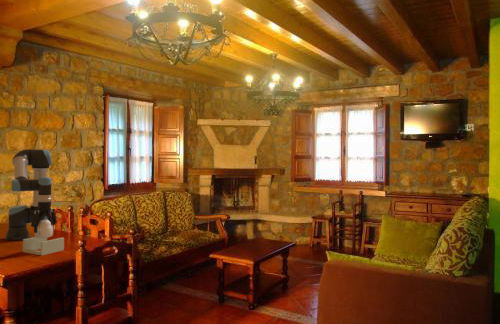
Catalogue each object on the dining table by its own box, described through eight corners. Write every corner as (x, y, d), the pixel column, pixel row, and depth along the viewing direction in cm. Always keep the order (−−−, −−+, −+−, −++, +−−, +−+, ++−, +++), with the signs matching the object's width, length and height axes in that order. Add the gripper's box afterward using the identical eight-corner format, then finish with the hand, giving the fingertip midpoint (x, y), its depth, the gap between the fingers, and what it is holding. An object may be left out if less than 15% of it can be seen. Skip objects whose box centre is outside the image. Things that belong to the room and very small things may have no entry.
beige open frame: (22, 252, 256) (23, 239, 256) (45, 246, 271) (45, 235, 271) (42, 255, 249) (42, 242, 249) (64, 250, 265) (64, 237, 264)
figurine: (55, 236, 266) (55, 218, 266) (50, 239, 257) (50, 220, 256) (38, 236, 265) (39, 218, 264) (33, 239, 255) (33, 220, 255)
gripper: (33, 203, 248) (32, 239, 248) (63, 200, 269) (62, 233, 269) (24, 202, 251) (23, 238, 251) (55, 199, 272) (54, 232, 272)
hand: (44, 236), depth 260 cm, fingers closed on figurine, 10 cm apart
